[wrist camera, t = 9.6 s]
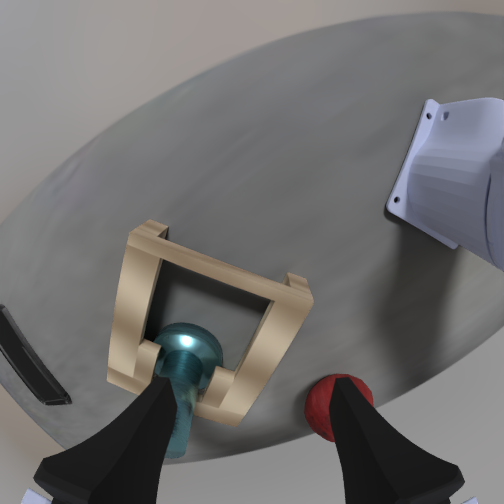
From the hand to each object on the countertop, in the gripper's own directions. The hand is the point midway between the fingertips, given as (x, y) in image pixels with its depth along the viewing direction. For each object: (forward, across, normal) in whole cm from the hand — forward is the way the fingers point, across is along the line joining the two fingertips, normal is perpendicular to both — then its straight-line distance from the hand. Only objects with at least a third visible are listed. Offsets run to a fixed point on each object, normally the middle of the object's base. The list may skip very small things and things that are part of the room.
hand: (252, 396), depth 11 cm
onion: (+10, -7, +10) cm, 16 cm away
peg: (+10, +6, +6) cm, 13 cm away
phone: (+11, +30, +11) cm, 33 cm away
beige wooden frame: (+10, +5, +3) cm, 12 cm away
